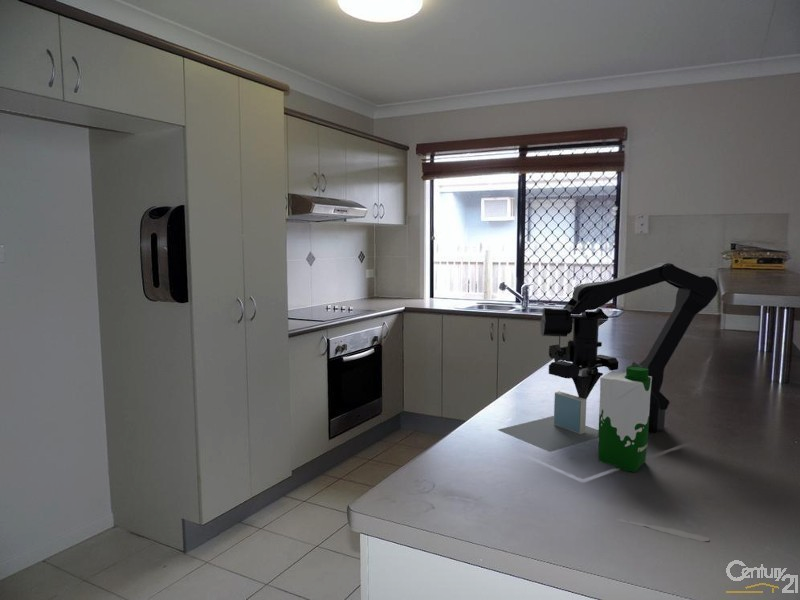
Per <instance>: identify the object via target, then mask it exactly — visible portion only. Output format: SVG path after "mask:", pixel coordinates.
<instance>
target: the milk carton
mask: <svg viewBox="0 0 800 600" xmlns="http://www.w3.org/2000/svg"><path fill="white" fill-rule="evenodd" d="M648 370H649V369H648V368H645V367H640V366H631V365H629V366H627V367H626V371H625V372H622V371H616V370H612V371H610V372H608V373H606V374H605V375H604V374H603V375H602V376H601V377H600V378H599V380H600V381H599V382H600V383H599V385H600V386H599V387H600V388H599V392H600V393H599V407H598V408H599V412H598V430H599V432H598V438H597V440H598V441H597V444H598V446H597V447H598V448H597V449H598V452H597V453H598V454H597V455H598V462H599V463H600V462H601V463H604V464H609V465H612V466H615V469H618V468H619V469H618V470H622V471H626V470H627V471H626V472H630V471H631V472H630V473H634V472H635V473H636V472H637V471H638V470H639V469H640V468H641V467H642V466H643V465H644V464H645V462H646V458H647V451H648V442H649V432H648V428H649V409H650V393H651V382H652V377H651V376H648Z"/></svg>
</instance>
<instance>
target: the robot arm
mask: <svg viewBox="0 0 800 600" xmlns="http://www.w3.org/2000/svg"><path fill="white" fill-rule="evenodd" d="M663 282H665V283H667V284H668V285H671V286H672V287H674V288H676V289H677V292H676V294H675V295H676V297H675V305H674V308H673V310H672V312H671V314H670V315H669V317H668V319H667V321H666V322H665V324H664V326H663V327H662V329H661V331H660V333H659V335H658V336H657V338H656V340H655V342H654V343H653V344H652V346H651V349H650V350H649V352H648V353H647V355H646V357H645V359H643V360H642V361H641V362H639V363H637V362H636V361H632V364H631V365H630V366H640V367H645V368H648V369H649V370H648V376H651V377H652V382H651V393H650V409H649V428H648V434H657V433H660V432H662V431H666V430H668V429H669V428H668V427H666V426H665V425H666V424H665V422H666V421H665V420H666V410H667V409H668V406H669V404H670V403H671V402H670V400H669V399H668V398H667V397H666V396H665V395H664V394H663V393H662V392H661V389H662V386H663V382H664V376H665V375H664V374H665V369H666V367H667V365H668V363H669V362H670V360H671V358H672V357H673V355H674V353H675V351H676V349H677V348H678V347H679V344H680V343H681V341H682V339H683V337H684V335H685V334H686V332H687V331H688V329H689V327H690V326H691V323H692V322H693V320H694V319H695V317H696V316H697V314H699V313H700V312H702V311H703V310H704V309H705V308H707V307H708V306H709V304H710V303H711V302H712V301H713V299H715V297H716V296H717V294H718V292H719V287H718V284H717V282H716V281H715V279H714V278H712V277H710V276H708V275H702V274H701V275H699V274H694V273H692V272H689V271H687V270H685V269H683V268H680V267H678V266H676V265H674V264H673V263H669V262H659V263H657V264H656V265H653V266H649V267H647V268H644V269H641V270H638V271H634V272H632V273H629V274H625V275H622V276H620V277H616V278H613V279H611V280H604V281H594V282H593V281H592V282H588V283H587V282H586V283H581V284H579V285H577V286H576V287H575V288H574V290H573V291H572V294H571V295H572V296H571V298H570V299H569V300H568V302H567V303H566V304H565V306H564V307H563V308H551V307H543V309H542V314H541V319H540V323H539V324H540V325H539V326H540V335H541V337H556V338H557V337H560V338H562V337H563V338H564V337H565V338H566V337H568V335H570V334H571V333H572V339H569V340H568V341H567V346H563V347H562V346H560V344H552V345H549V347H548V356H549V358H550V359H551V360H553V361H552V362H551V363H550V364H549V365H548V375H552V376H557V377H558V378H564V379H572V381H573V384H574V387H575V390H576V393H577V397H580V398H584V399H586V400H588V398H589V396H590V394H591V392H592V390H593V389H594V387H595V386H596V384H597V383H598V381H599V380H600V378H601V377H602V376H604V373H603V372H600V371H599V368H602V367H605V368H607V369H608V370H609V371H610V372H612V371H616V370H619V360H618V359H617V358H616V357H614V356H609V355H605V354H598V348H600V347H603V346H602V344H603V342H602V341H599V328H600V327H599V326H600V320H608V319H609V316H608V315H607V314H606V313H605V312H604V310H603V309H602V308H600V307H603V306H604V305H607V304H608V303H610V302H611V301H612V300H613V299H616V298H617V297H619V296H622V295H626V294H628V293H631V292H635V291H638V290H642V289H644V288H647V287H650V286H653V285H657V284H660V283H663Z"/></svg>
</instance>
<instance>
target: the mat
mask: <svg viewBox="0 0 800 600" xmlns="http://www.w3.org/2000/svg"><path fill="white" fill-rule="evenodd" d="M497 430H498V431H499V432H502V433H504V434H506V435H509V436H512V437H514V438H516V439H519V440H521V441H523V442H526V443H527V444H531V445H532V446H536V447H537V448H539V449H542V450H544V451H546V452H548V453H549V452H550V453H551V452H553V451H556V450H560V449H563V448H567V447H571V446H573V445H578V444H580V443H584V442H588V441H591V440H595V439H598V432H599V429H596V428H594V427H590V426H588V425H585V433H583V434H579V433H576V432H573V431H571V430H568V429H565V428H562V427H560V426H557V425H554V415H552V416H547V417H544V418H540V419H536V420H532V421H527V422H523V423H519V424H515V425H510V426H507V427H503V428H499V429H497Z"/></svg>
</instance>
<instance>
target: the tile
mask: <svg viewBox="0 0 800 600" xmlns="http://www.w3.org/2000/svg"><path fill="white" fill-rule="evenodd" d="M553 407H554V408H553V416H554V425H557V426H560V427H562V428H565V429H568V430H571V431H573V432H576V433H579V434H583V433H585V426H586V420H587V417H586V416H587V399H584V398H580V397H579V396H578V395H577V396H576V395H573V394H570V393H566V392H563V391H561V390H559V391H555V392H554V405H553Z"/></svg>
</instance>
